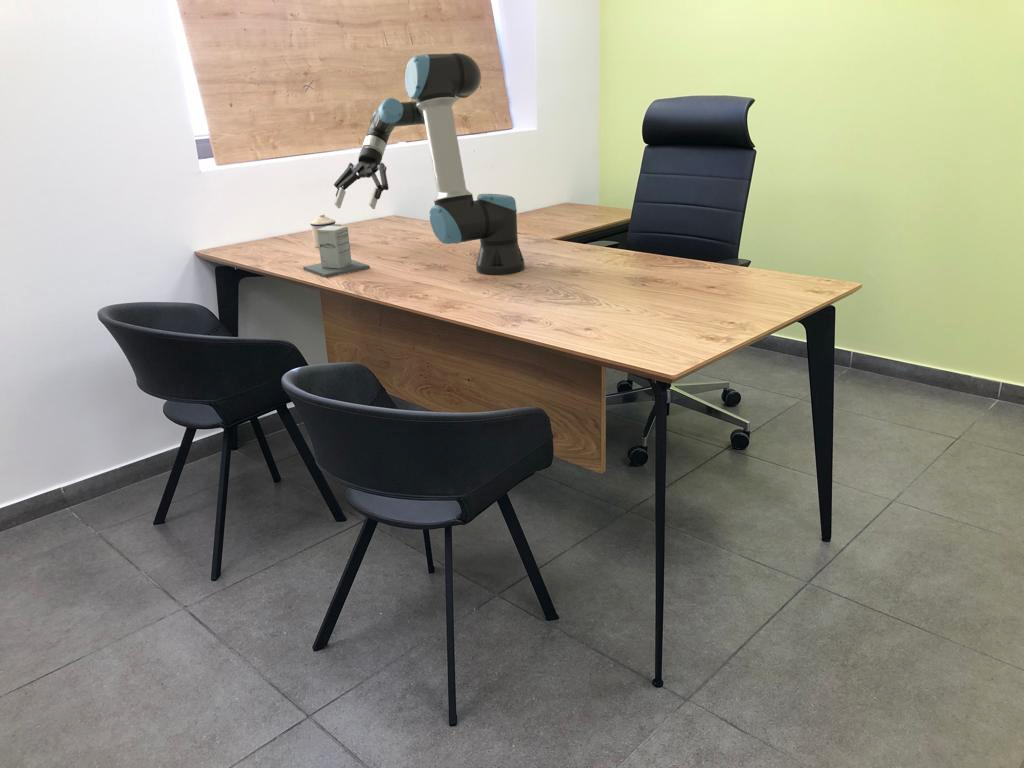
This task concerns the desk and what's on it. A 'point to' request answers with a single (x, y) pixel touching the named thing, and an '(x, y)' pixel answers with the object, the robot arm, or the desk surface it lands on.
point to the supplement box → (334, 246)
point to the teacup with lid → (321, 226)
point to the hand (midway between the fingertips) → (354, 206)
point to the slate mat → (335, 269)
